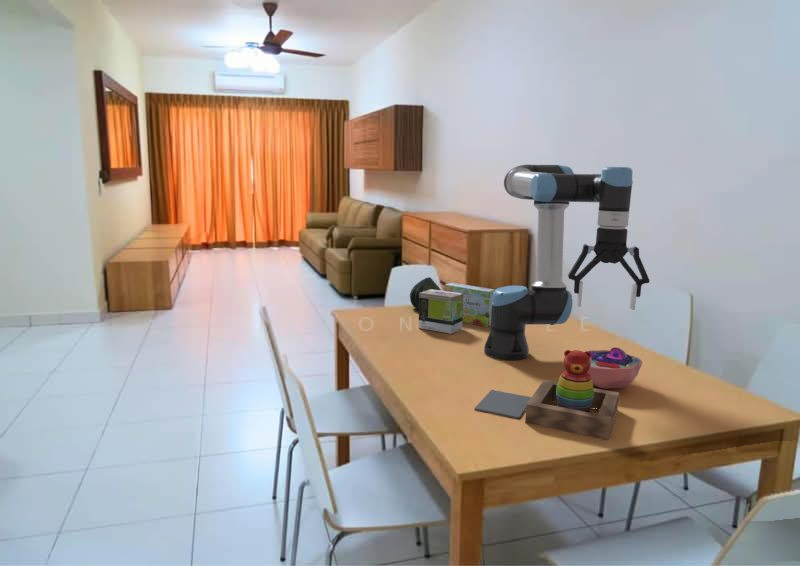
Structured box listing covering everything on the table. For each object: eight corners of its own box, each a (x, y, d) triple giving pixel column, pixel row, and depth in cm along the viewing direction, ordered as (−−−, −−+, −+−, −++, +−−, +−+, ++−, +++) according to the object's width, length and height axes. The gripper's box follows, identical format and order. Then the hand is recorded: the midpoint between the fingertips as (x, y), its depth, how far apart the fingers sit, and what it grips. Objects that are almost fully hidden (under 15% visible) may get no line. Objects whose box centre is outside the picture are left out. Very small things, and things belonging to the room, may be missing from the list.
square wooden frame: (525, 422, 149) (526, 404, 148) (542, 396, 167) (544, 379, 166) (608, 440, 141) (610, 420, 140) (617, 410, 158) (619, 392, 157)
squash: (413, 302, 254) (434, 275, 256) (399, 296, 267) (419, 271, 269) (434, 321, 259) (455, 295, 262) (420, 315, 273) (439, 289, 275)
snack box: (442, 319, 249) (443, 284, 246) (449, 316, 254) (450, 282, 251) (487, 327, 237) (489, 290, 234) (494, 324, 242) (496, 288, 239)
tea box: (462, 329, 234) (464, 292, 231) (451, 334, 226) (452, 297, 223) (429, 323, 242) (431, 287, 239) (417, 328, 234) (418, 292, 231)
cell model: (561, 380, 180) (564, 344, 178) (612, 372, 188) (615, 338, 186) (599, 400, 165) (603, 361, 163) (653, 391, 173) (657, 354, 170)
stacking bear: (548, 420, 151) (553, 353, 148) (554, 405, 160) (559, 343, 157) (592, 427, 147) (599, 359, 144) (595, 412, 156) (601, 348, 153)
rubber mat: (474, 409, 156) (474, 408, 156) (491, 391, 170) (491, 389, 169) (518, 419, 151) (519, 417, 151) (532, 399, 164) (532, 397, 164)
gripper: (563, 226, 152) (557, 307, 156) (667, 230, 147) (658, 313, 151) (561, 224, 159) (556, 301, 163) (660, 228, 154) (652, 307, 158)
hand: (605, 307), depth 157 cm, fingers open, 13 cm apart
